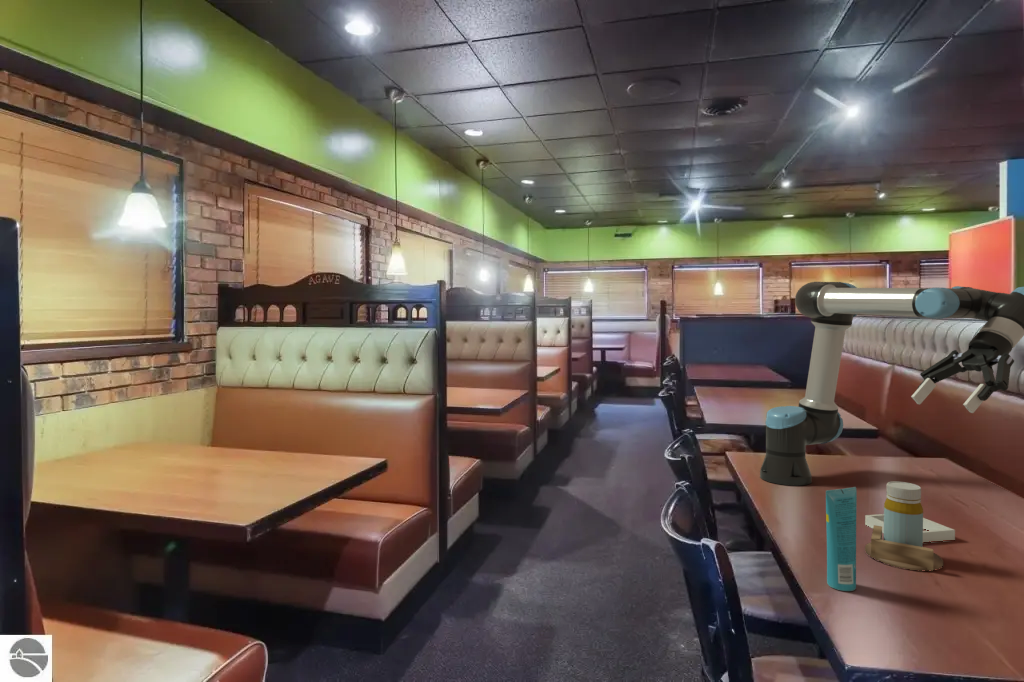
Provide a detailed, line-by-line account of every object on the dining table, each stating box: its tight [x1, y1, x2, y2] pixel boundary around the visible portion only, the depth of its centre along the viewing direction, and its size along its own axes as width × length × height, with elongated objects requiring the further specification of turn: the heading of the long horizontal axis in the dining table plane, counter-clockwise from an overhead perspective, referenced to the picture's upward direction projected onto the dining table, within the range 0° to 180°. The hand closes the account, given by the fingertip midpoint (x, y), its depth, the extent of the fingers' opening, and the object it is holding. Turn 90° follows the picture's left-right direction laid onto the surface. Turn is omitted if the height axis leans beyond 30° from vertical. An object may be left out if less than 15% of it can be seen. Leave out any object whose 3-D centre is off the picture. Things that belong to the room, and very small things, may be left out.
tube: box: [825, 486, 858, 592], centre depth 109 cm, size 7×5×19 cm, turn 112°
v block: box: [864, 525, 944, 572], centre depth 122 cm, size 14×15×4 cm
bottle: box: [883, 481, 924, 547], centre depth 122 cm, size 7×7×15 cm
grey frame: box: [864, 513, 956, 543], centre depth 136 cm, size 13×13×2 cm
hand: (940, 404), depth 133 cm, fingers open, 13 cm apart
